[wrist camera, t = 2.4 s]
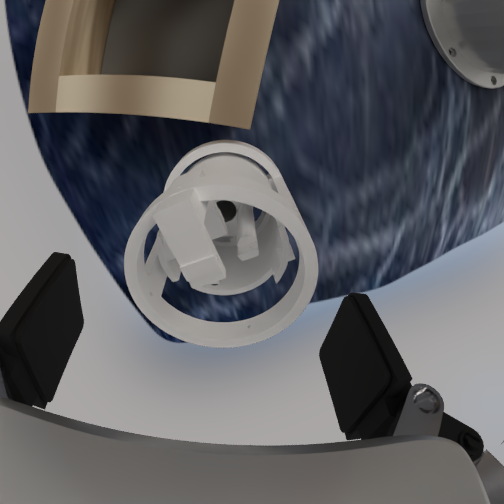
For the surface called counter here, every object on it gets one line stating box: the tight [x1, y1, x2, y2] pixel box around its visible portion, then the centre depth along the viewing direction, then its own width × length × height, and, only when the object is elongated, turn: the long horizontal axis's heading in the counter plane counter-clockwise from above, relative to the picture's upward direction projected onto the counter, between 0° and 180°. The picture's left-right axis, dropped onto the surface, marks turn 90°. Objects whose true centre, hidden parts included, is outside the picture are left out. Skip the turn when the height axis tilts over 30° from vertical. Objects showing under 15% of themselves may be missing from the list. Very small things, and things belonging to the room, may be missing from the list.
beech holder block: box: [28, 0, 279, 129], centre depth 14 cm, size 13×13×7 cm
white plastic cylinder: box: [124, 140, 318, 348], centre depth 16 cm, size 7×7×15 cm
